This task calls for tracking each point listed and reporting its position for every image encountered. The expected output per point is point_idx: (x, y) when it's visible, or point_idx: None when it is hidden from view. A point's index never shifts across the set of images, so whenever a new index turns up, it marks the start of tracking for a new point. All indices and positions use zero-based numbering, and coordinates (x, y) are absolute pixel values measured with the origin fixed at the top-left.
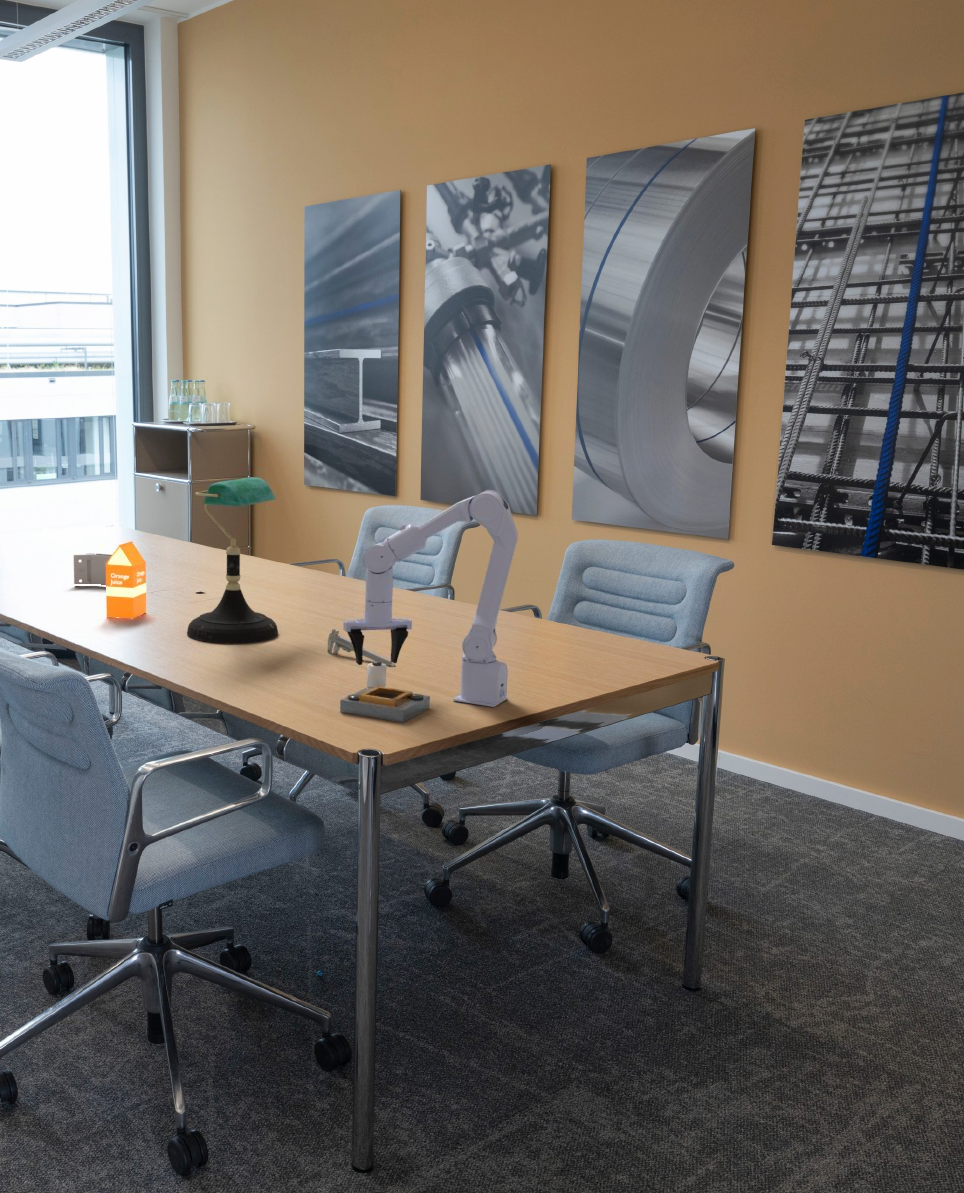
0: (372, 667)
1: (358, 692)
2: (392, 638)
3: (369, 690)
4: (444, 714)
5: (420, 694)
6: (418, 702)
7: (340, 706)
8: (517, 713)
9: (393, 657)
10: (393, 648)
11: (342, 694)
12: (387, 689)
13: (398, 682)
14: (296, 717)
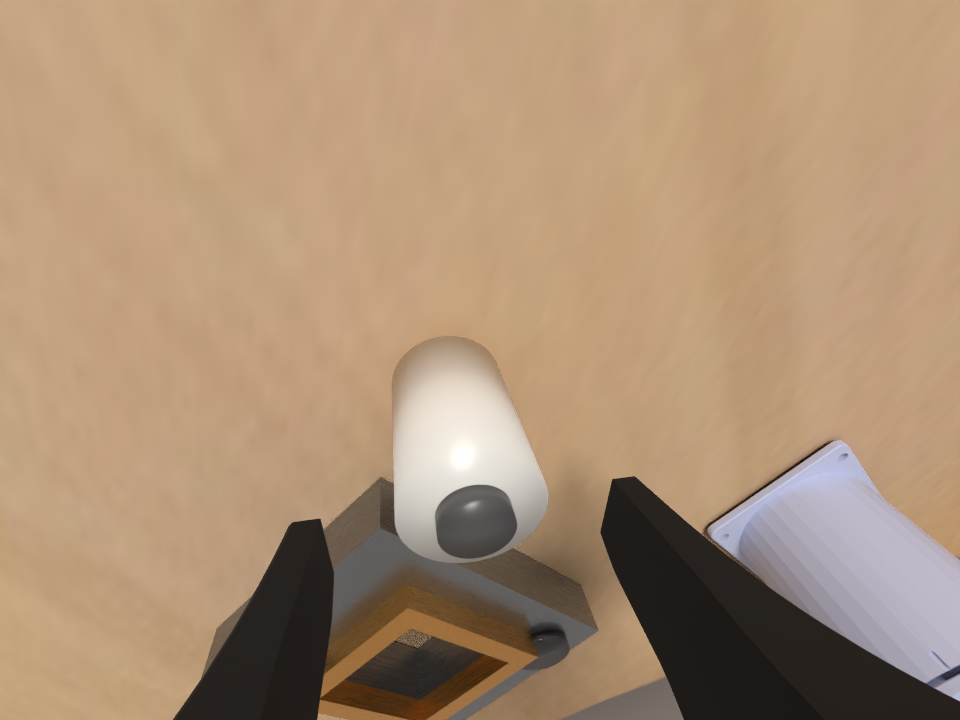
0: (421, 552)
1: None
2: (762, 703)
3: (348, 660)
4: None
5: (565, 643)
6: (522, 679)
7: (209, 654)
8: None
9: (622, 562)
10: (676, 616)
11: (232, 407)
12: (442, 638)
13: (664, 191)
14: (12, 680)
